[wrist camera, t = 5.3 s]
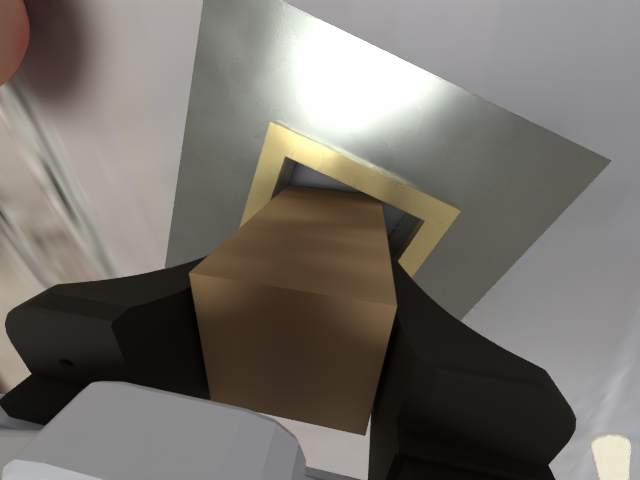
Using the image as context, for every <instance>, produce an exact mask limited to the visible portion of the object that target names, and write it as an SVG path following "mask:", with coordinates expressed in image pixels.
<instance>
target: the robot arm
mask: <svg viewBox="0 0 640 480" xmlns="http://www.w3.org/2000/svg"><path fill="white" fill-rule="evenodd" d="M207 256H209V255H207ZM207 256H205V257H202V258H200V259H197V260H194V261H191V262H188V263H184V264H181V265H178V266H174V267H171V268H166V269H162V270H158V271H153V272H149V273H144V274H139V275H134V276H128V277H122V278H115V279H108V280H100V281H90V282H80V283H69V284H58V285H55V286H53V287H51V288H49V289H47V290H45V291H44V292H42V293H40V294H38V295H36V296H35V297H33V298H31V299H29V300H28V301H26V302H24V303H22V304H20V305H19V306H17V307H15V308H13V309H12V310H11V311H10V312H9V313H8V314H7V318H6V321H5V327H6V333H7V335H8V337H9V339H10V341H11V343H12V344H13V346H14V347H15V349H16V350H17V352H18V354H19V355H20V357H21V358H22V360H23V361H24V363H25V364H26V366H27V368H28V369H29V371H30V372H31V375H30V376H29V377H27V378H26V379H25V380H24V381H22V382H21V383H20V384H19V385H17V386H16V387H15V388H13V389H12V390H11V391H10V392H8V393H7V394H6V395H5V394H1V393H0V480H360V479H356V478H352V477H348V476H344V475H339V474H335V473H331V472H327V471H323V470H319V469H314V468H310V467H306V459H305V457H304V454H303V452H302V449H301V446H300V444H299V441H298V440H297V438H296V437H295V435H293V434H292V433H291V432H290V431H289V430H287V429H286V428H285V427H284V426H282V425H281V424H280V423H279V422H278V421H276V420H275V419H272V418H270V417H267V416H265V415H262V414H259V413H257V412H254V411H252V410H249V409H245V408H241V407H236V406H232V405H227V404H223V403H218V402H213V401H210V400H211V397H210V391H209V386H208V380H207V374H206V368H205V363H204V357H203V351H202V345H201V340H200V334H199V328H198V323H197V317H196V311H195V305H194V300H193V294H192V288H191V282H190V277H189V272H190V271H192V270H193V269H194V268H195V267H196V266H197V265H198V264H200V263H201V262H202V261H203V260H204V259H205V258H206V257H207ZM390 260H391V267H392V273H393V280H394V287H395V294H396V301H397V309H396V313H395V317H394V321H393V325H392V329H391V333H390V338H389V342H388V346H387V350H386V354H385V358H384V362H383V366H382V370H381V374H380V378H379V382H378V386H377V390H376V394H375V398H374V402H373V406H372V410H371V426H370V449H369V470H368V480H555V478H554V476H553V474H552V472H551V470H550V468H549V466H548V465H549V463H550V462H551V461H552V460H553V459H554V458H555V457H556V456H557V454H558V453H559V452H560V451H561V450H562V449H563V448H564V447H565V445H566V444H567V443H568V442H569V440H570V438H571V437H572V435H573V433H574V431H575V428H576V417H575V415H574V413H573V411H572V409H571V407H570V405H569V404H568V402H567V401H566V399H565V398H564V397H563V395H562V394H561V392H560V391H559V389H558V388H557V386H556V385H555V383H554V382H553V380H552V379H551V377H550V376H549V374H548V373H547V372H546V370H544V369H542V368H540V367H538V366H537V365H535V364H533V363H531V362H529V361H527V360H525V359H523V358H521V357H519V356H517V355H515V354H513V353H511V352H509V351H507V350H505V349H504V348H502V347H500V346H498V345H497V344H495V343H493V342H492V341H490V340H488V339H487V338H485V337H483V336H481V335H480V334H478V333H477V332H475V331H474V330H472V329H471V328H469V327H468V326H466V325H465V324H463V323H462V322H461V321H459V320H458V319H456V318H455V317H453V316H452V315H451V314H450V313H448V312H447V311H446V310H444V309H443V308H442V307H441V306H440V305H439V304H437V303H436V302H435V301H434V300H433V299H432V298H430V297H429V296H428V295H427V294H426V293H425V292H424V291H423V290H422V289H421V288H420V287H419V286H418V285H417V284H416V282H415V281H414V280H413V279H412V278H411V277H410V276H409V275H408V273H407V272H406V271H405V270H404V268H403V267H402V266H401V265H400V263H399V262H398V261H397V259H396V258H395V257H394V256H393V254H392V253H390Z"/></svg>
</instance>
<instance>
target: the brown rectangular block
mask: <svg viewBox="0 0 640 480" xmlns="http://www.w3.org/2000/svg"><path fill="white" fill-rule="evenodd" d="M189 277H190V282H191V288H192V294H193V300H194V305H195V311H196V317H197V323H198V328H199V334H200V340H201V345H202V351H203V357H204V363H205V368H206V374H207V380H208V386H209V391H210V397H211V401H213V402H218V403H223V404H227V405H232V406H236V407H241V408H245V409H249V410H252V411H255V412H259V413H264V414H268V415H273V416H278V417H282V418H287V419H291V420H296V421H300V422H305V423H310V424H314V425H319V426H323V427H328V428H332V429H337V430H341V431H346V432H351V433H355V434H360V435H364V436H365V434H366V430H367V426H368V422H369V418H370V414H371V410H372V406H373V402H374V398H375V394H376V390H377V386H378V382H379V378H380V374H381V370H382V366H383V362H384V358H385V354H386V350H387V346H388V342H389V338H390V333H391V329H392V325H393V321H394V317H395V313H396V309H397V301H396V294H395V287H394V280H393V273H392V267H391V260H390V253H389V246H388V239H387V232H386V225H385V219H384V212H383V205H382V201H381V200H379V199H377V198H375V197H373V196H370V195H368V194H359V193H350V192H341V191H332V190H323V189H314V188H305V187H296V186H287V187H286V188H285V189H283V190H282V191H281V192H280V193H279V194H278V195H277V196H275V197H274V198H273V199H272V200H271V201H270V202H269V203H268V204H266V205H265V206H264V207H263V208H262V209H261V210H260V211H258V212H257V213H256V214H255V215H254V216H253V217H252V218H251V219H249V220H248V221H247V222H246V223H245V224H244V225H243V226H241V227H240V228H239V229H238V230H237V231H236V232H235V233H234V234H232V235H231V236H230V237H229V238H228V239H227V240H226V241H224V242H223V243H222V244H221V245H220V246H219V247H218V248H217V249H215V250H214V251H213V252H212V253H211V254H210V255H209V256H207V257H206V258H205V259H204V260H203V261H202V262H201V263H200V264H198V265H197V266H196V267H195V268H194V269H193V270H192V271H190V272H189Z"/></svg>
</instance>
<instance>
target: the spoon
mask: <svg viewBox="0 0 640 480" xmlns="http://www.w3.org/2000/svg"><path fill="white" fill-rule="evenodd" d="M590 448H591V451H592V453H593V458H594V463H595V465H596V469H597V475H598V478H599V480H628V478H629V472H630V471H629V467H630V463H629V461H630V457H629V454H630V455H631V453H630V451H632V450H631V447H630V441H629V440H628V438H626V437H625V436H621V435H617V434H604V435H600V436H598V437H595V438H594V439H593V440H591V442H590ZM630 462H631V461H630ZM630 468H631V467H630ZM629 479H630V478H629Z"/></svg>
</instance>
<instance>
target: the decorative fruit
mask: <svg viewBox="0 0 640 480" xmlns="http://www.w3.org/2000/svg"><path fill="white" fill-rule="evenodd" d="M29 37H30V25H29V20H28V16H27V11H26V8H25V5H24V2H23V0H0V86H1V85H3V84H4V83H5V82H6V81H8V80H9V79H10V78H11V77H12V76H13V75H14V73H15V72H16V71H17V69H18V67H19V66H20V64H21V62H22V60H23V57H24V55H25V53H26V50H27V47H28V43H29Z"/></svg>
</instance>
